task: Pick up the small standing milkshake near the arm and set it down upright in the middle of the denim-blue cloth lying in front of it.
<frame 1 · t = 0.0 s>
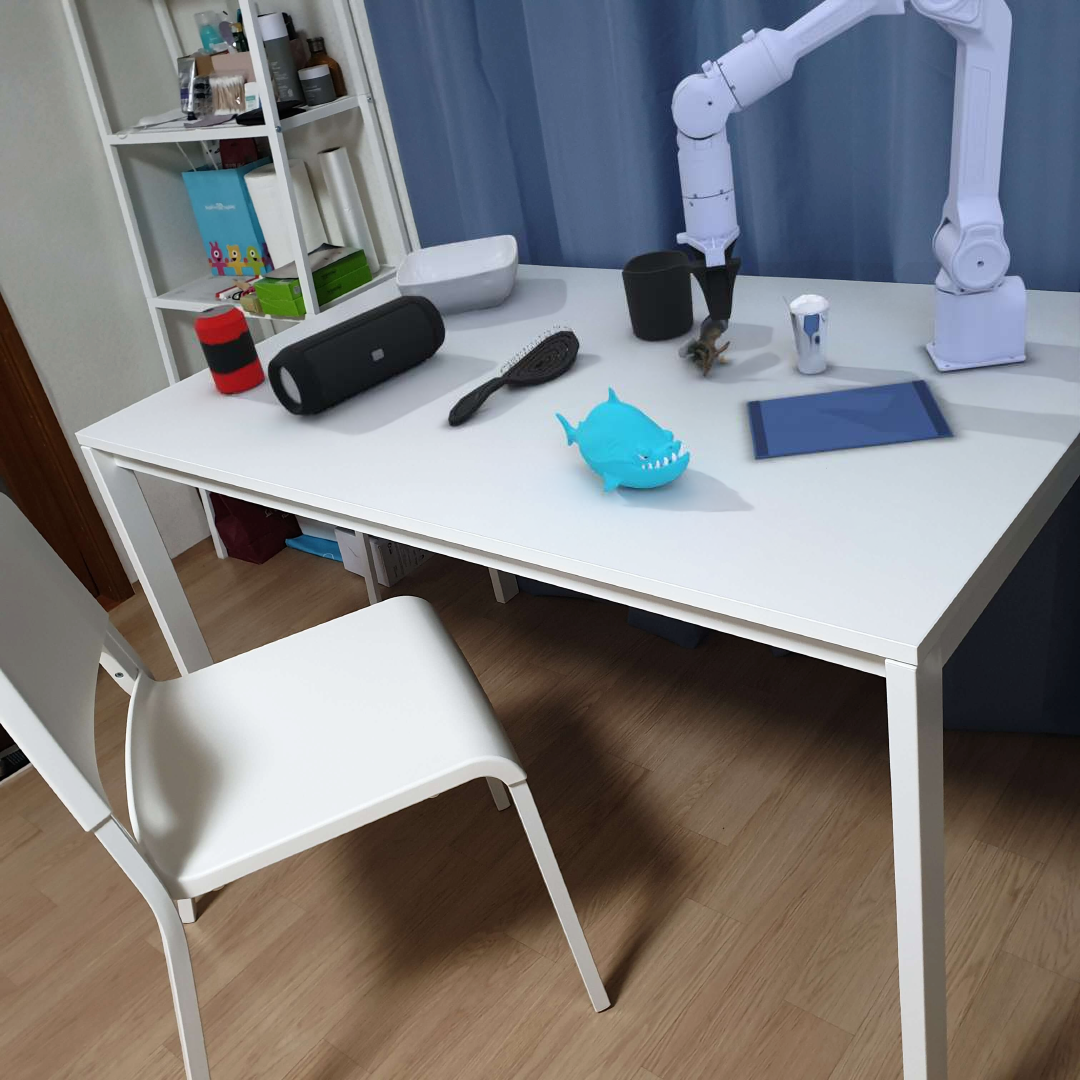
hand: (719, 308, 123), 10 cm above the table, tool pointing down, fingers open, 7 cm apart
soda can: (242, 385, 163), on the table
toy shark: (624, 479, 113), on the table
milkshake: (809, 371, 128), on the table
bowl: (466, 301, 179), on the table
portable speaker: (369, 387, 152), on the table
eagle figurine: (709, 365, 136), on the table
hairbrush: (515, 388, 141), on the table
pen holder: (663, 331, 149), on the table
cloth: (843, 419, 115), on the table
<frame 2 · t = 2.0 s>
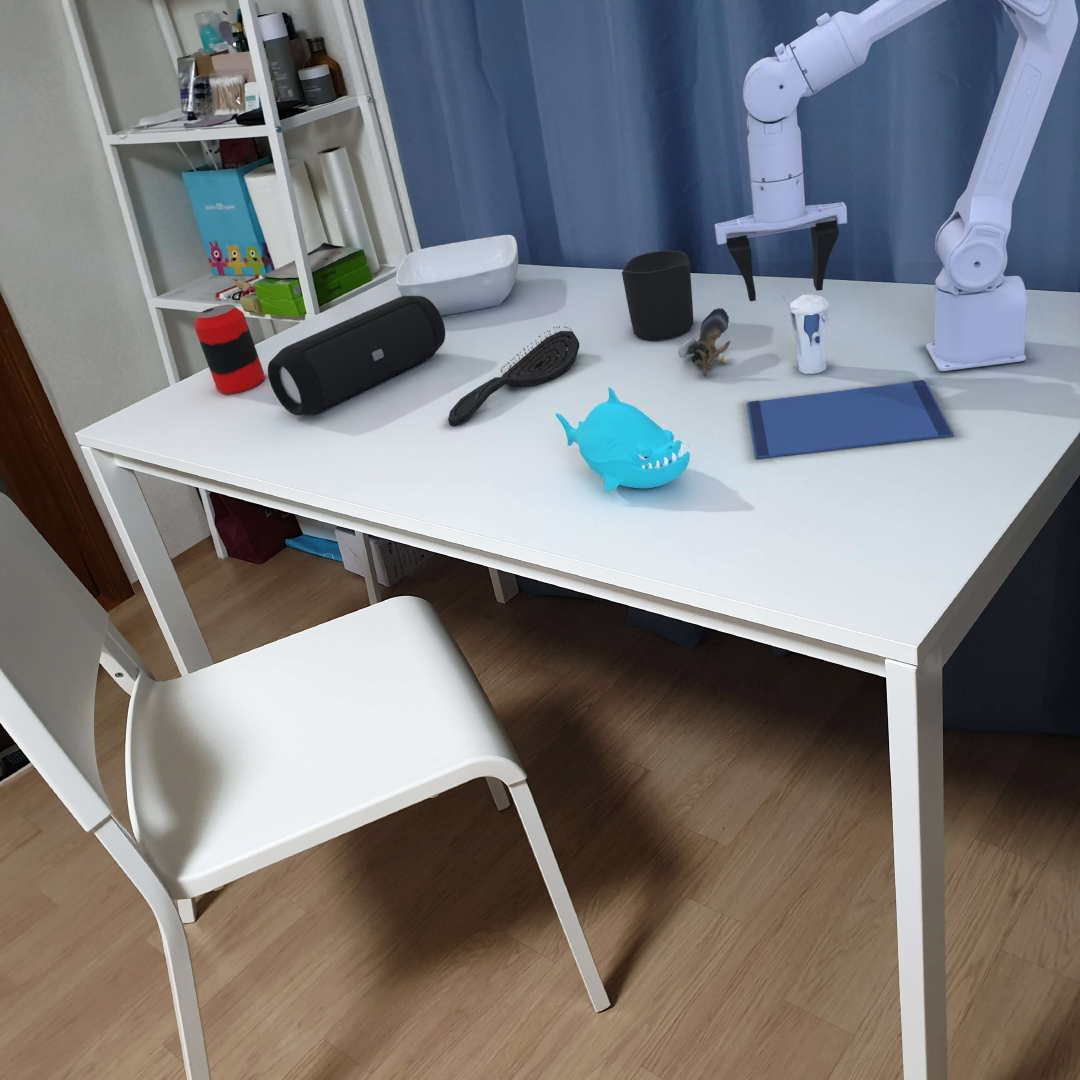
hand: (785, 293, 123), 10 cm above the table, tool pointing down, fingers open, 7 cm apart
nothing on the table moved.
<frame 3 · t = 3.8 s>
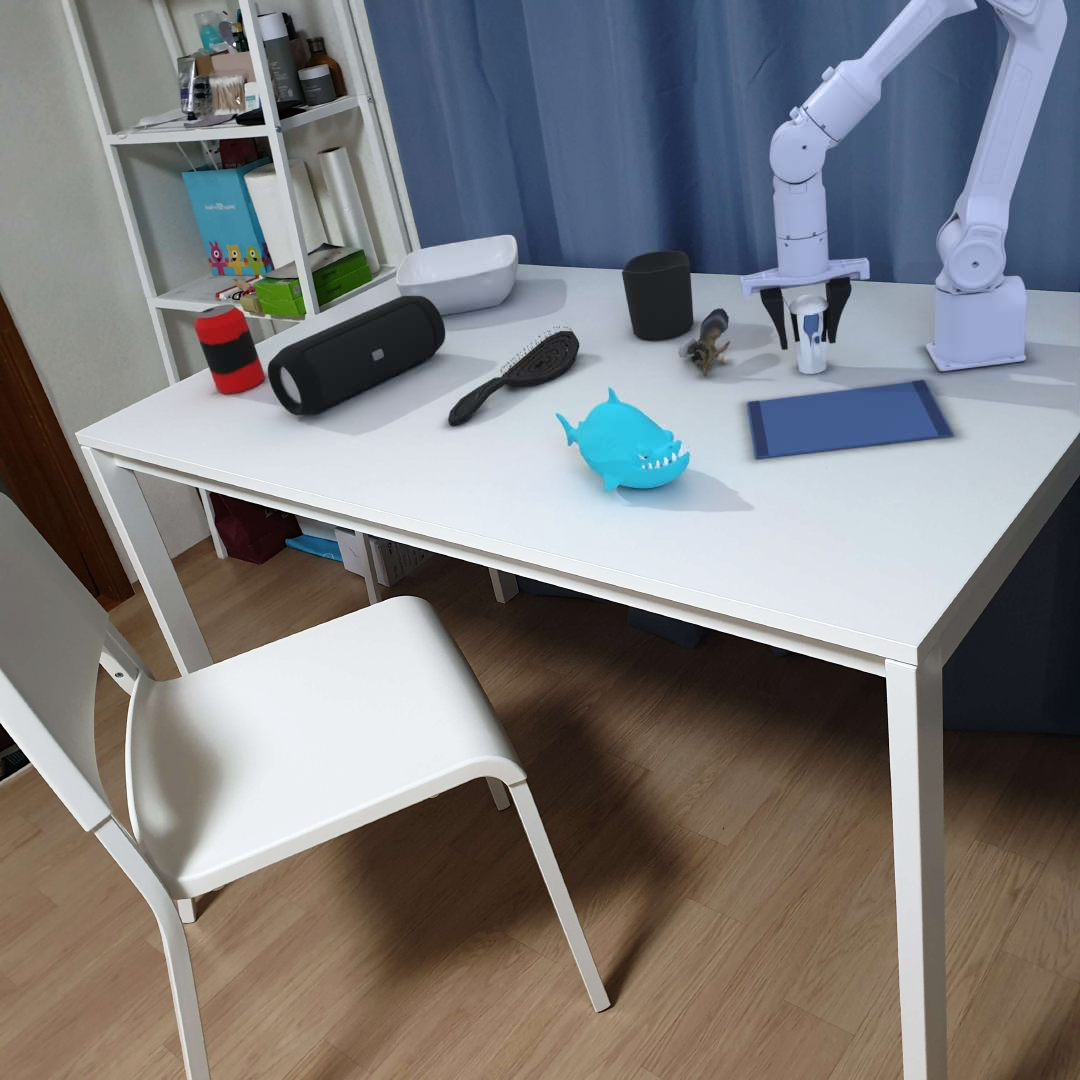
hand: (808, 343, 126), 3 cm above the table, tool pointing down, fingers closed on milkshake, 5 cm apart
milkshake: (809, 371, 128), on the table, touching gripper
everything else where it was.
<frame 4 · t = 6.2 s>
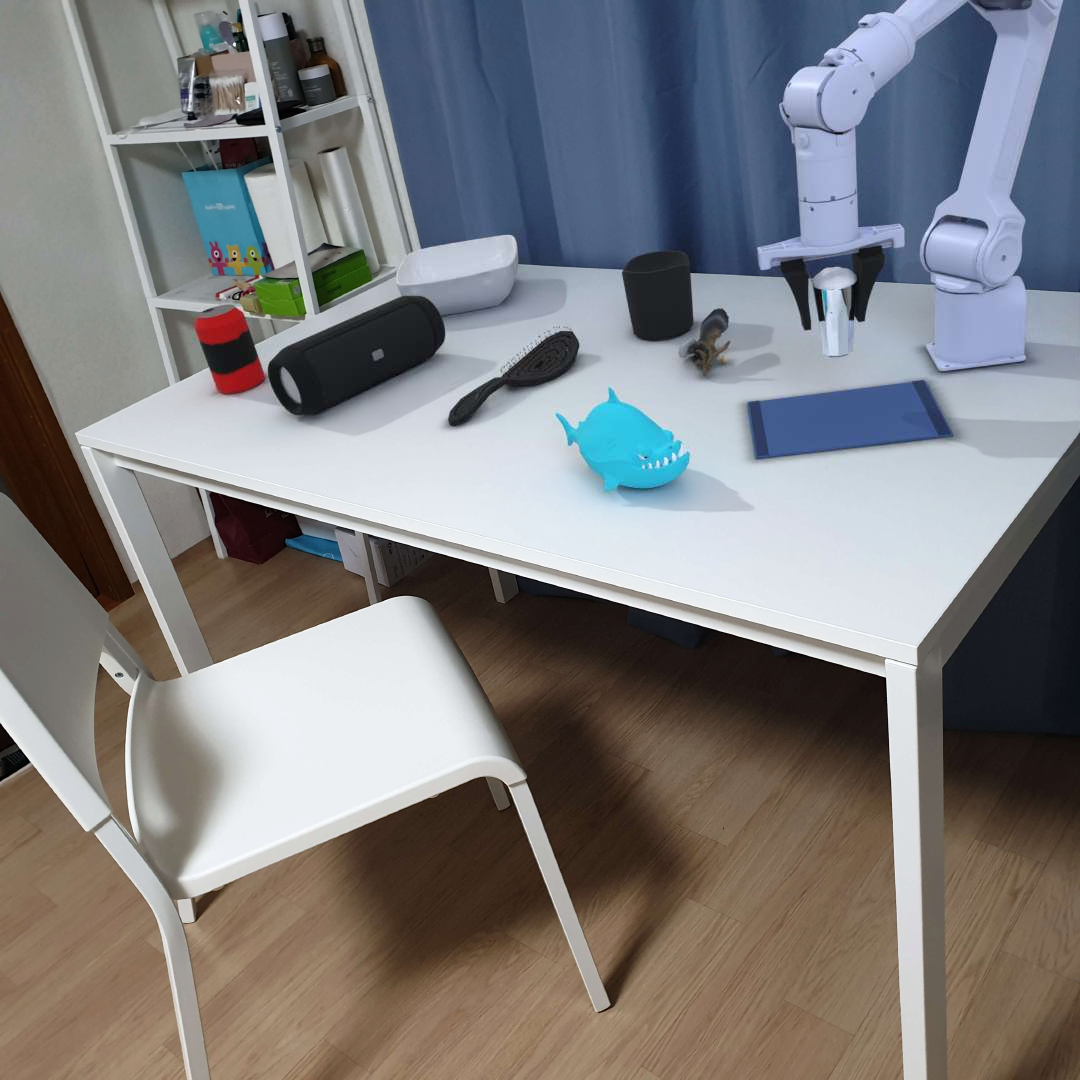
hand: (833, 323, 112), 10 cm above the table, tool pointing down, fingers closed on milkshake, 5 cm apart
milkshake: (834, 354, 114), point 7 cm above the table, touching gripper
everything else where it was.
when the fingers open (4 cm above the table, at t = 8.9 s): milkshake stays where it is, resting on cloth.
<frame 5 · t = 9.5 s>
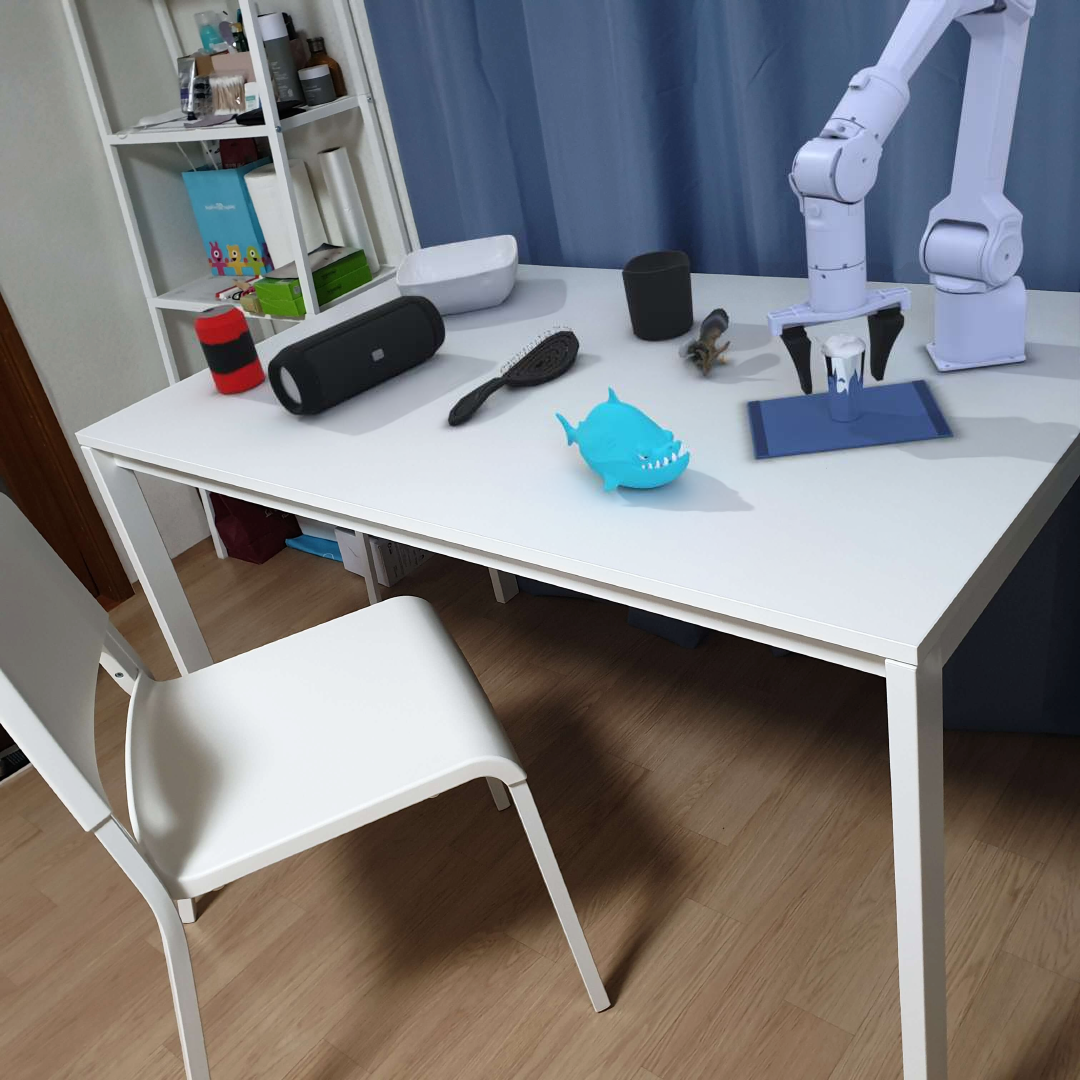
hand: (841, 384, 113), 4 cm above the table, tool pointing down, fingers open, 7 cm apart
milkshake: (842, 418, 115), resting on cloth
everything else where it was.
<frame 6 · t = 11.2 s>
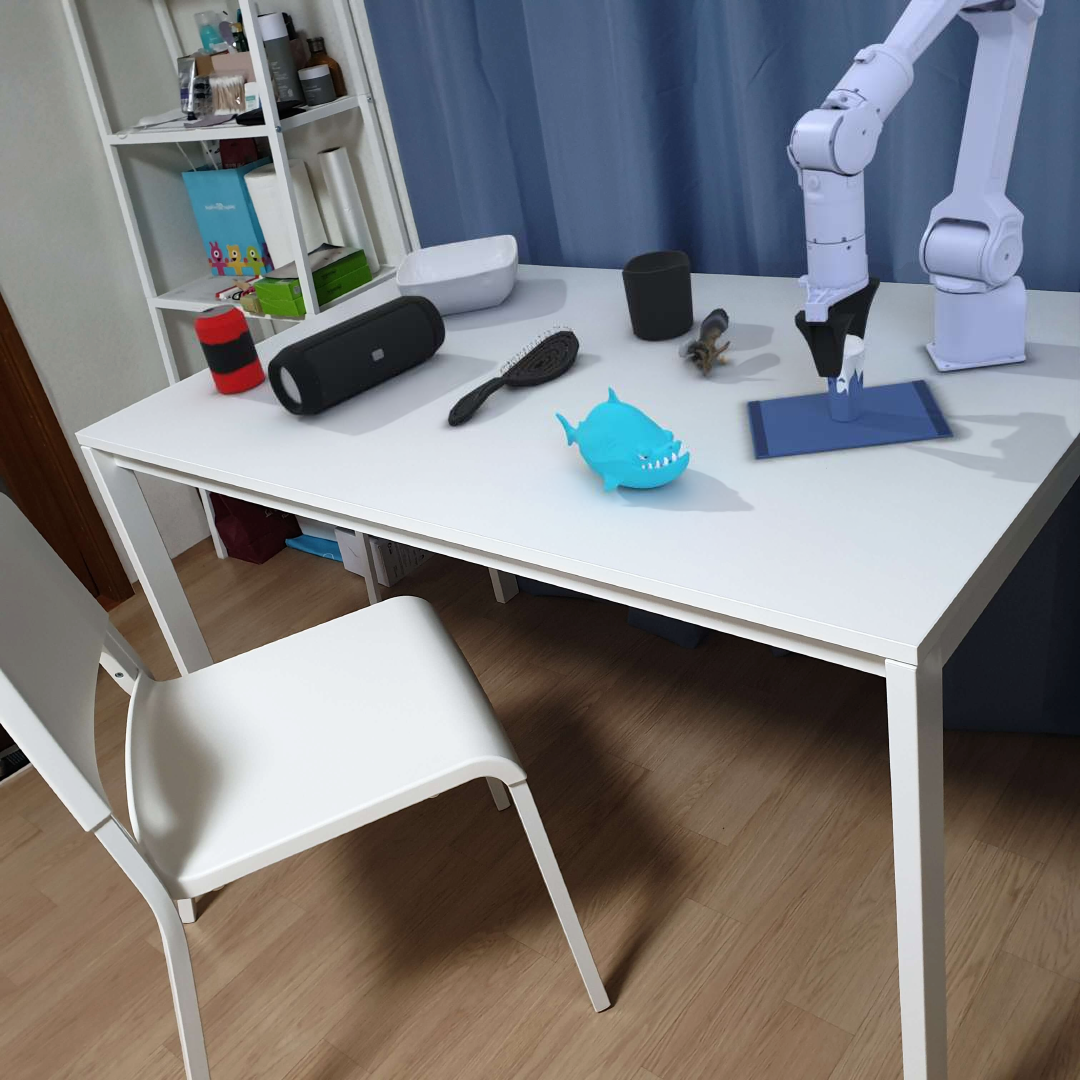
hand: (840, 361, 112), 7 cm above the table, tool pointing down, fingers open, 7 cm apart
nothing on the table moved.
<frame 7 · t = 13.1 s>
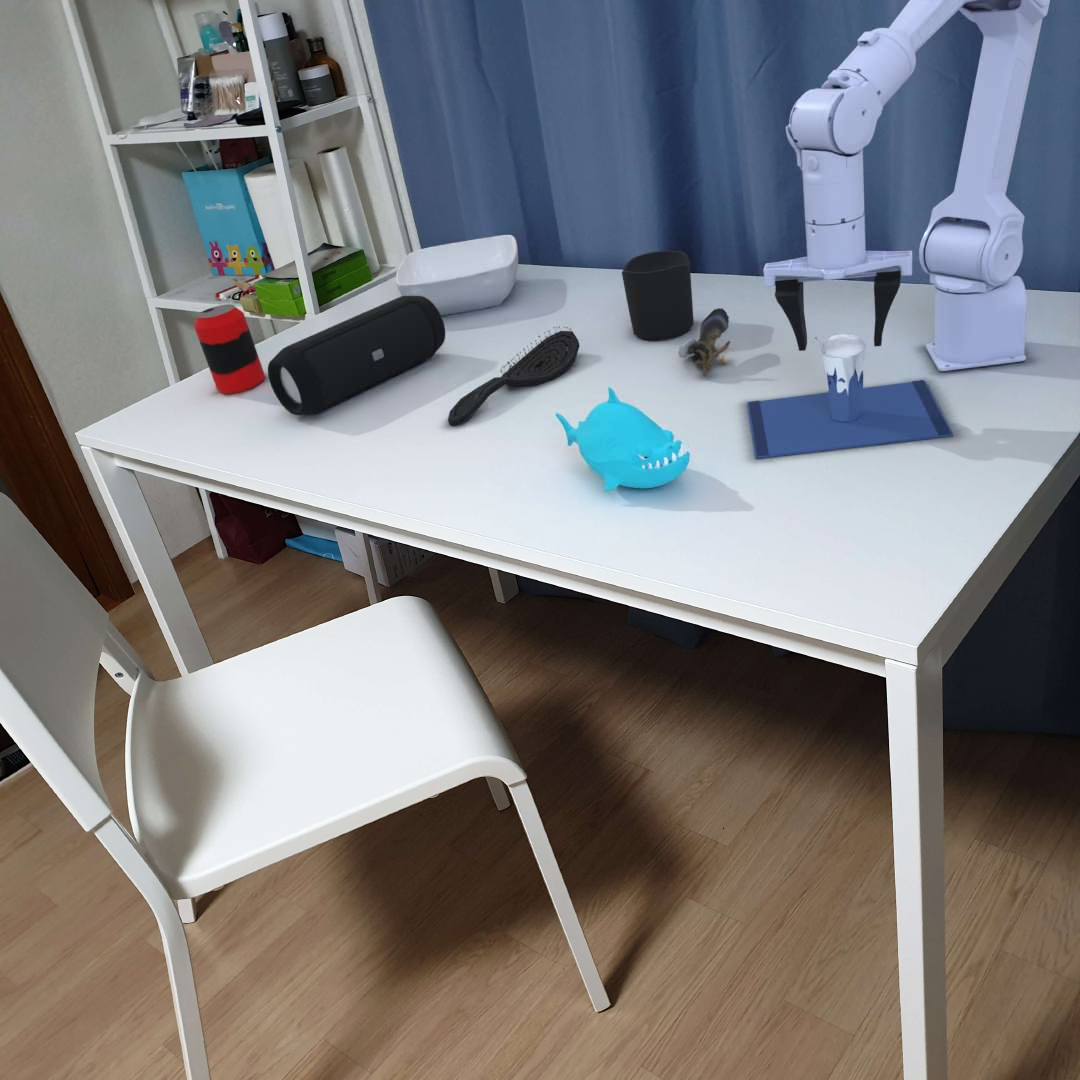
hand: (840, 345, 111), 9 cm above the table, tool pointing down, fingers open, 7 cm apart
nothing on the table moved.
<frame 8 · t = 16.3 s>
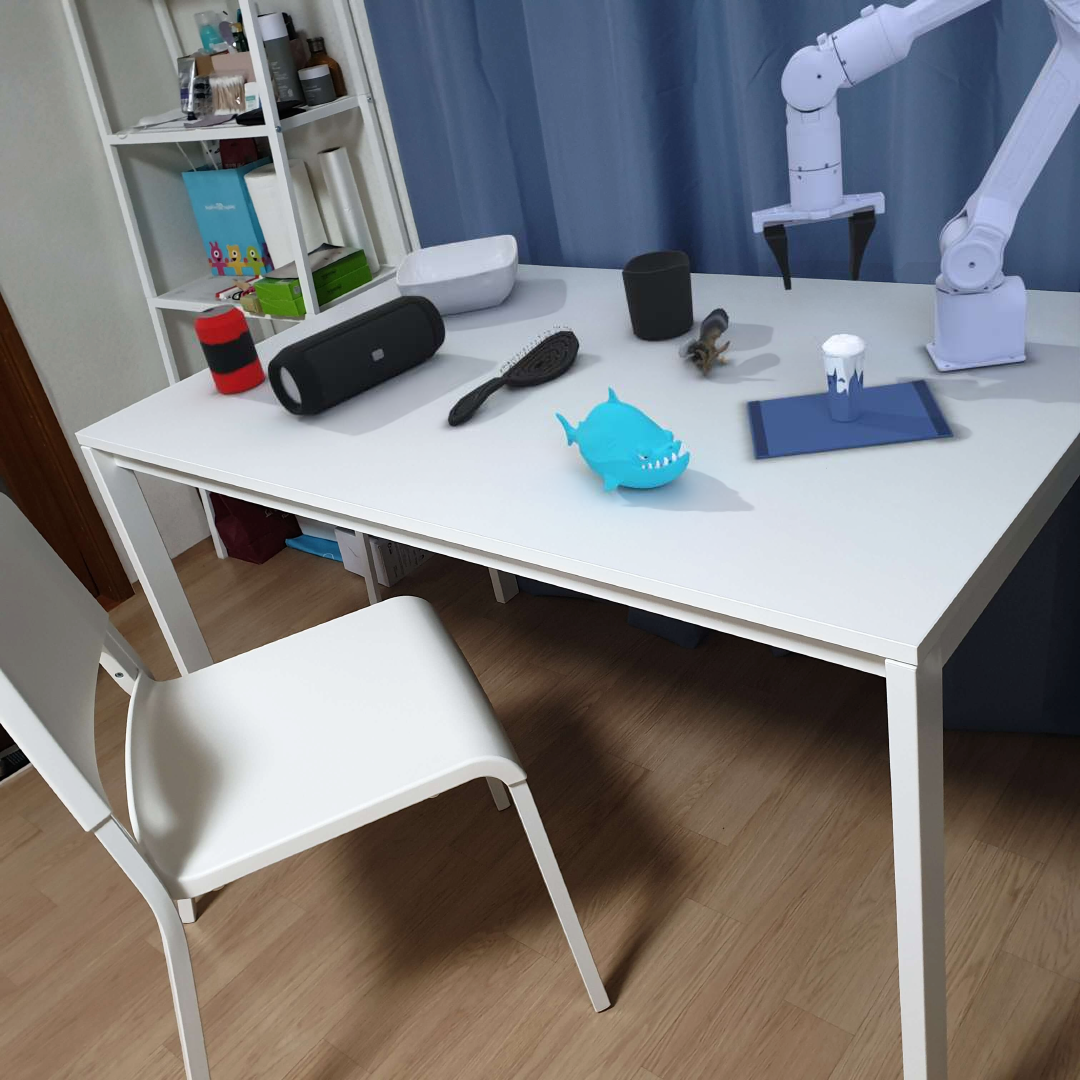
hand: (820, 282, 123), 10 cm above the table, tool pointing down, fingers open, 7 cm apart
nothing on the table moved.
at the end: milkshake inside the target area (0.1 cm from its centre), on the table; milkshake tilted 0°; milkshake touching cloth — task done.
